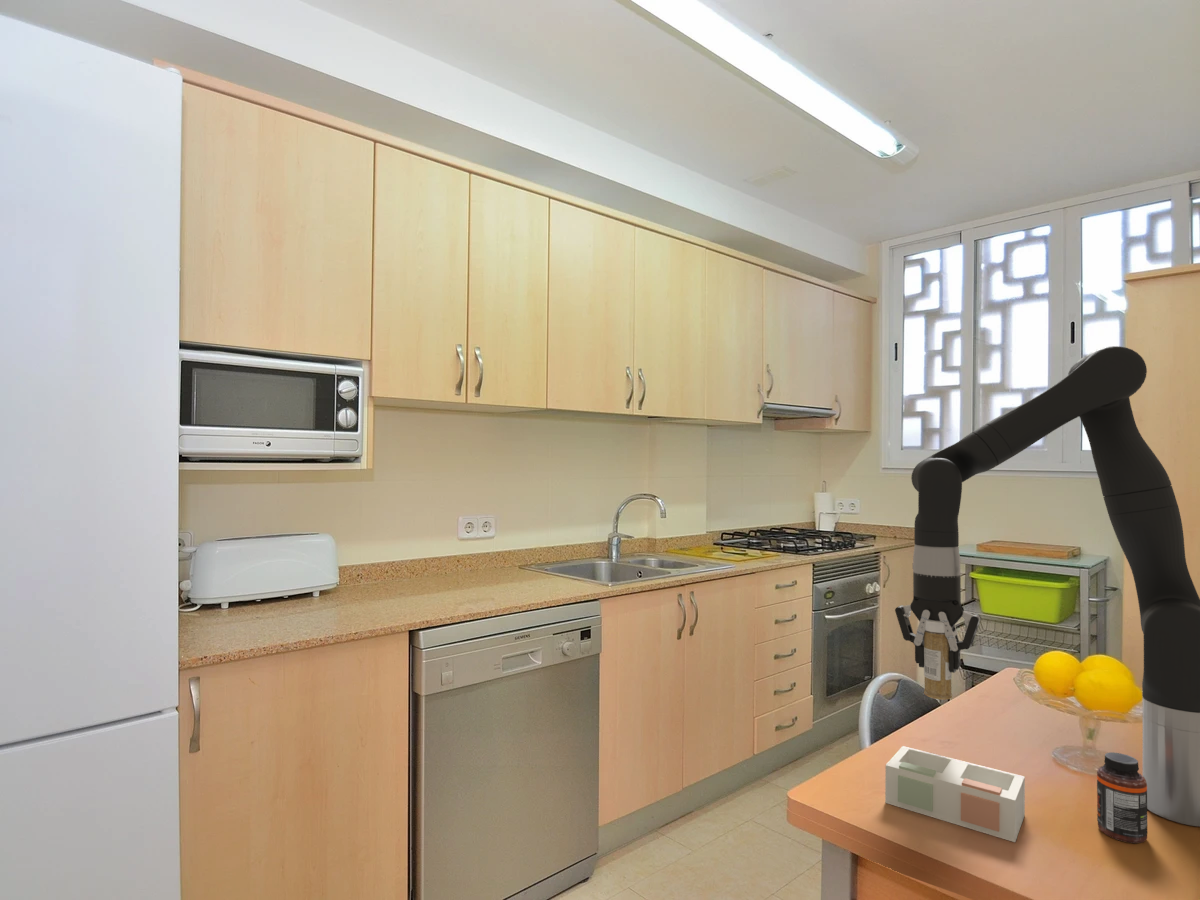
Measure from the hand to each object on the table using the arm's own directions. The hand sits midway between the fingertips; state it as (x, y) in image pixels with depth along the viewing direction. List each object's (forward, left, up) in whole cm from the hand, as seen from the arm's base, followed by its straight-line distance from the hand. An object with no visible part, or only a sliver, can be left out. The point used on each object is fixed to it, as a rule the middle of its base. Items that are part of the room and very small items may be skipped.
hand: (937, 668), depth 121 cm
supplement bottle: (-26, +3, -19) cm, 32 cm away
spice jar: (0, 0, -5) cm, 5 cm away
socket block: (-5, +11, -19) cm, 22 cm away
